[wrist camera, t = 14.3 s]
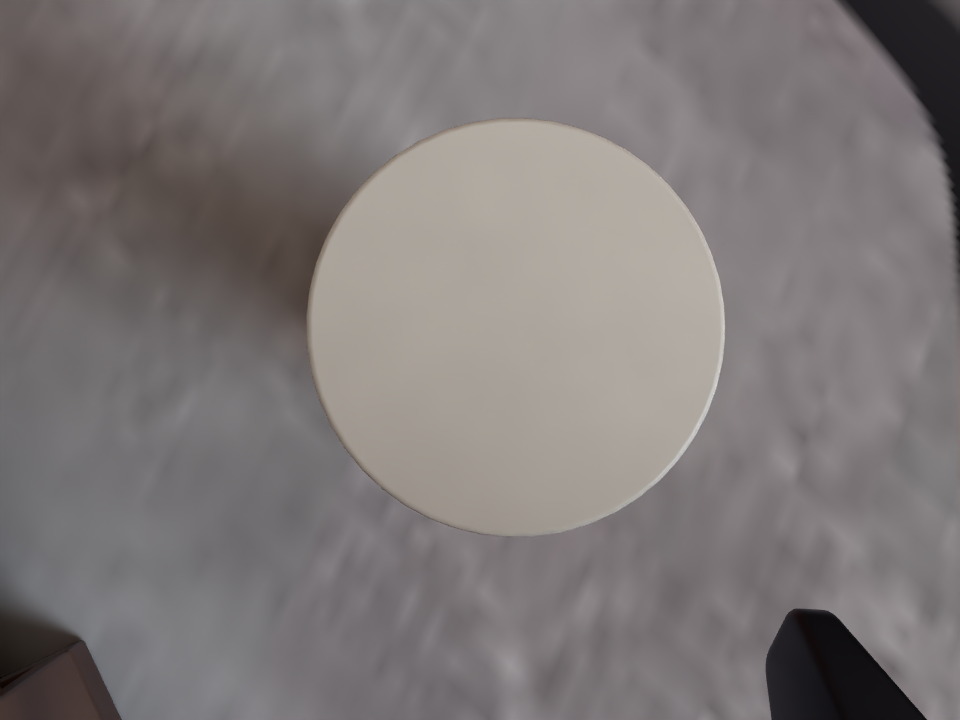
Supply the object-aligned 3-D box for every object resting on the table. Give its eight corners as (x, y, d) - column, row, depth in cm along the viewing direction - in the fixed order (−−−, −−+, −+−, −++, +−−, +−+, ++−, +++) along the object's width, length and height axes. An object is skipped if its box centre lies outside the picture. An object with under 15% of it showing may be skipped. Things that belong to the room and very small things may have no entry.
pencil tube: (569, 434, 20) (746, 516, 8) (400, 451, 20) (324, 557, 8) (553, 267, 20) (704, 99, 8) (385, 282, 20) (286, 133, 8)
